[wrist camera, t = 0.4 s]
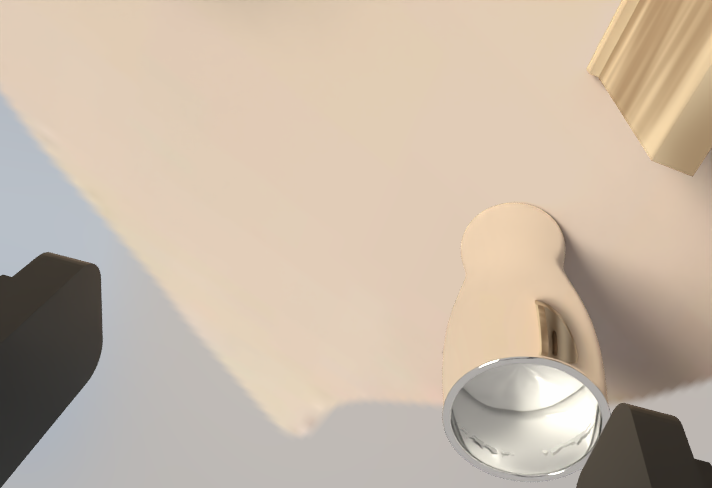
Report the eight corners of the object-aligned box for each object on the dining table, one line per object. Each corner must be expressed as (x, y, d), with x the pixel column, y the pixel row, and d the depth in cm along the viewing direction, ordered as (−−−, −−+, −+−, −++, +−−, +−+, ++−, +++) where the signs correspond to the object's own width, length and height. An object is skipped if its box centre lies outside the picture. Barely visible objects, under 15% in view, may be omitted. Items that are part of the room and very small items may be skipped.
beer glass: (433, 224, 39) (406, 387, 26) (542, 174, 36) (573, 328, 23) (485, 312, 41) (484, 503, 28) (591, 271, 39) (645, 460, 26)
